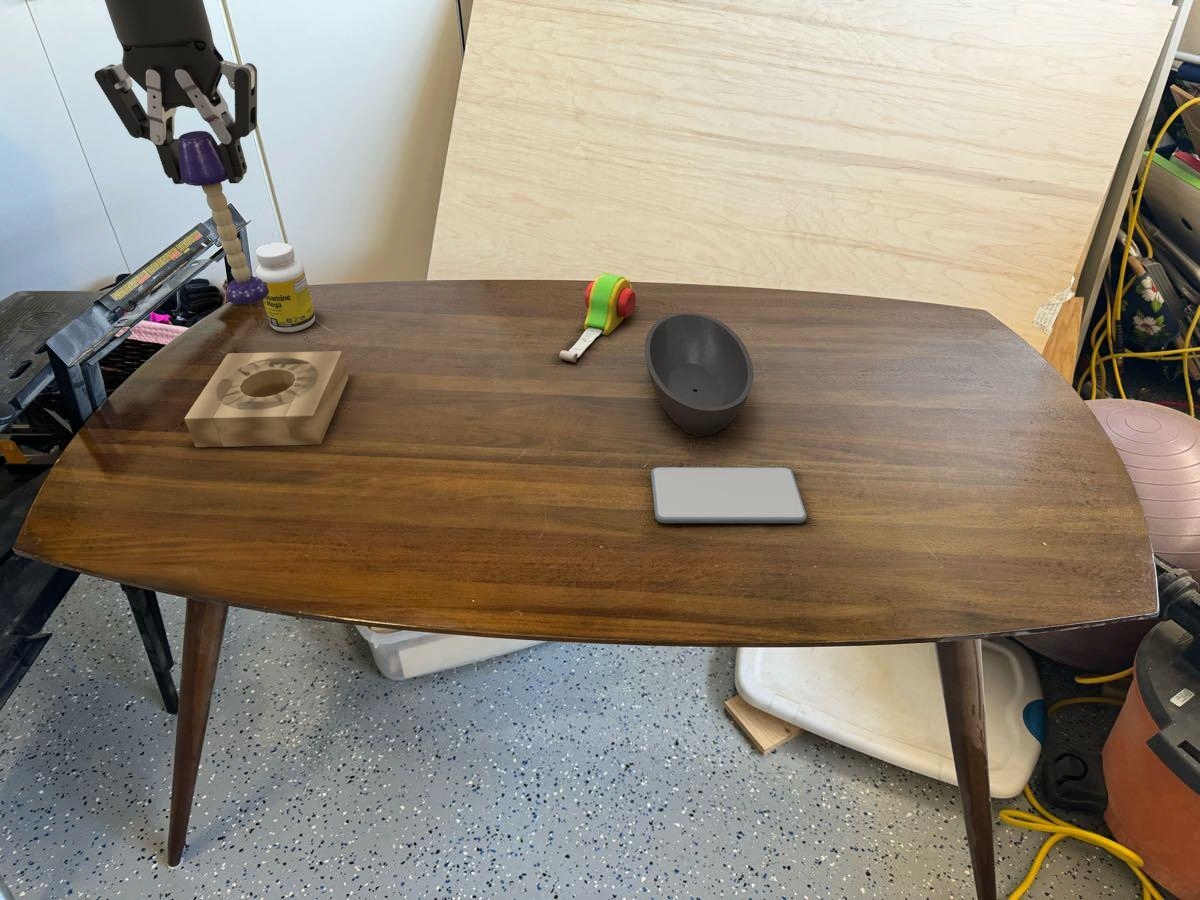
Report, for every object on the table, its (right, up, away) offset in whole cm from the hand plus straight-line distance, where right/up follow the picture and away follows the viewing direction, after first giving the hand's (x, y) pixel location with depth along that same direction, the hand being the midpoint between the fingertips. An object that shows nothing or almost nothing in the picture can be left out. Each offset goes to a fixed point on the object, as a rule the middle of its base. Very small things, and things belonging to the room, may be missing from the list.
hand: (209, 180), depth 77 cm
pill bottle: (-5, -8, +35) cm, 37 cm away
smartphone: (+51, -31, +5) cm, 60 cm away
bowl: (+49, -20, +19) cm, 57 cm away
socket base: (-1, -21, +18) cm, 28 cm away
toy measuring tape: (+38, -10, +33) cm, 51 cm away
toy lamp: (0, -10, +8) cm, 13 cm away
